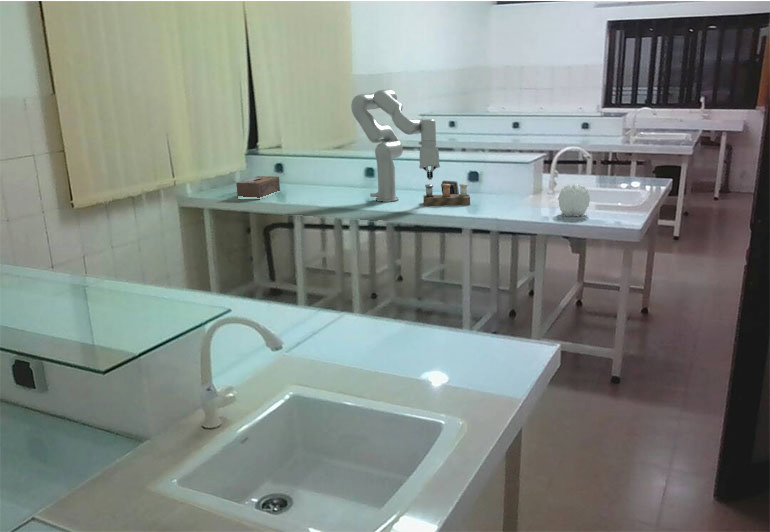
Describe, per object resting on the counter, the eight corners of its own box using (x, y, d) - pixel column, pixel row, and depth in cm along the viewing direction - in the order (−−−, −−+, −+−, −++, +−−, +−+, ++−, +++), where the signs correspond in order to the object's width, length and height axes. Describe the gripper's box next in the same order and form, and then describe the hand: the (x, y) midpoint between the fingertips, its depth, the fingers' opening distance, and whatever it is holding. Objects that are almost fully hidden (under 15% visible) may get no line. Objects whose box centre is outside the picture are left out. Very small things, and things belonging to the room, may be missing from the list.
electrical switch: (459, 196, 363) (458, 180, 360) (455, 199, 359) (454, 182, 356) (444, 195, 368) (443, 179, 365) (440, 198, 364) (439, 181, 361)
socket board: (423, 206, 340) (423, 198, 339) (423, 202, 350) (423, 195, 349) (470, 204, 339) (470, 197, 338) (468, 201, 349) (468, 194, 348)
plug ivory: (459, 198, 341) (459, 184, 339) (459, 196, 345) (459, 183, 343) (467, 197, 341) (467, 184, 339) (467, 196, 345) (467, 183, 343)
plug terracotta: (442, 198, 342) (442, 185, 340) (442, 197, 346) (442, 183, 344) (450, 198, 342) (450, 185, 340) (450, 196, 346) (450, 183, 344)
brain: (556, 229, 311) (556, 203, 298) (560, 202, 321) (559, 176, 308) (588, 230, 306) (588, 204, 293) (590, 202, 317) (591, 176, 303)
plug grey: (425, 198, 342) (425, 185, 340) (425, 197, 346) (425, 184, 344) (433, 198, 342) (433, 185, 340) (433, 197, 346) (433, 184, 344)
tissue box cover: (259, 192, 403) (257, 176, 400) (280, 192, 398) (278, 176, 395) (237, 199, 379) (236, 182, 376) (260, 200, 375) (258, 183, 372)
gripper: (414, 145, 333) (415, 181, 338) (443, 143, 332) (444, 179, 337) (414, 143, 340) (415, 179, 345) (443, 142, 339) (444, 177, 344)
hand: (430, 179), depth 341 cm, fingers closed
